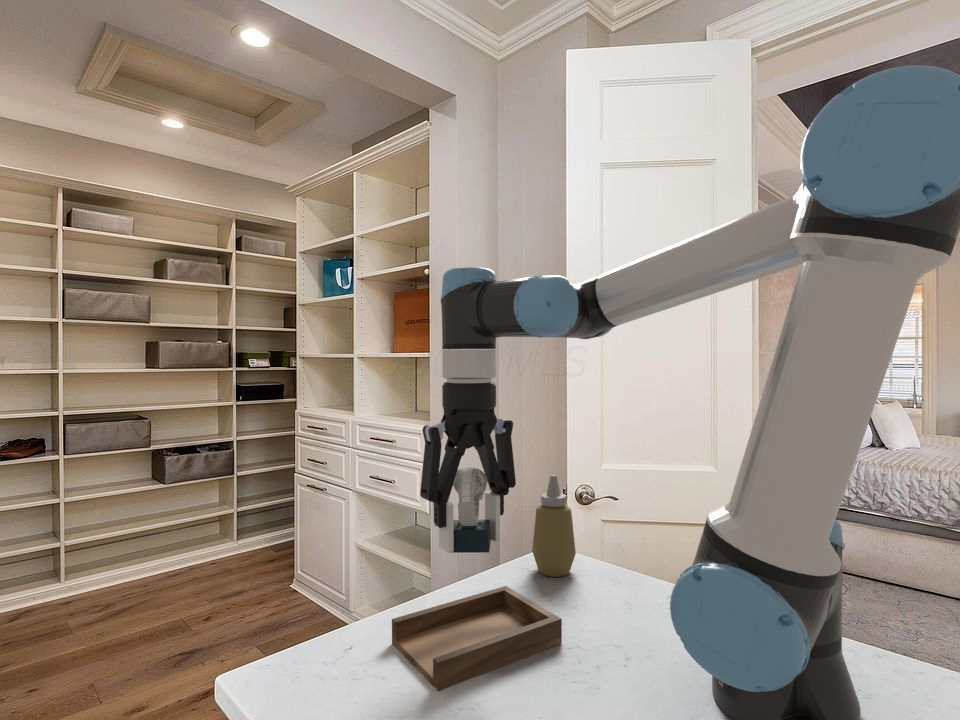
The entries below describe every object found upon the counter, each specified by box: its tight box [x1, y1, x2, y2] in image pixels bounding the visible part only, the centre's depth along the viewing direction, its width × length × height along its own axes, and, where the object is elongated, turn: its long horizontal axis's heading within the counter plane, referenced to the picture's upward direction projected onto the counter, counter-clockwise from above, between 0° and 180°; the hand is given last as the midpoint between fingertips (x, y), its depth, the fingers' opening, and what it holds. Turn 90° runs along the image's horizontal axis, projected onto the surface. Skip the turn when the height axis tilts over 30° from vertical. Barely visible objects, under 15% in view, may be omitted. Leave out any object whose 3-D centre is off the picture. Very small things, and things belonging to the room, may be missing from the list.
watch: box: [451, 467, 492, 554], centre depth 79 cm, size 6×8×11 cm
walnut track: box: [391, 585, 563, 692], centre depth 80 cm, size 13×20×4 cm
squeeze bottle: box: [531, 474, 577, 578], centre depth 105 cm, size 8×8×18 cm
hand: (470, 543), depth 79 cm, fingers closed on watch, 7 cm apart
